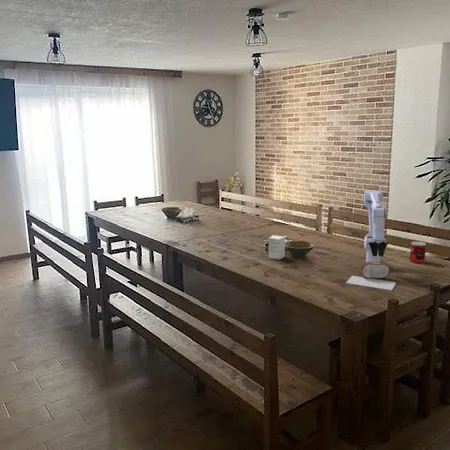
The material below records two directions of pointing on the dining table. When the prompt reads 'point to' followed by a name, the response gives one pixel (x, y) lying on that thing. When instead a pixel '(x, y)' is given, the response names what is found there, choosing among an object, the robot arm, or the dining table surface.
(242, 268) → the dining table surface
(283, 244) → the supplement box
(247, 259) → the dining table surface
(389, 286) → the mat
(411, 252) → the canned food
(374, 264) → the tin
